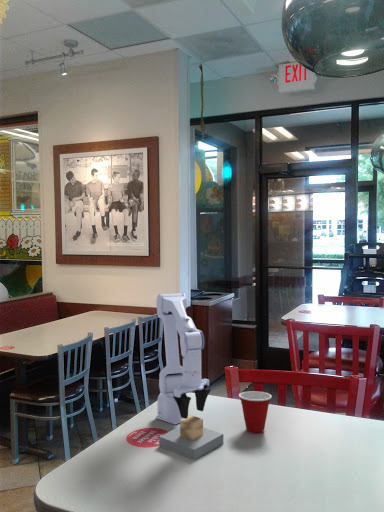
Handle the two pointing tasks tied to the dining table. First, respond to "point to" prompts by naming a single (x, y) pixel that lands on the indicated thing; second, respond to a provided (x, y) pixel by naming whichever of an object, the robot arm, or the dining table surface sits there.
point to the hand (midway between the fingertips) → (192, 413)
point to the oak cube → (191, 427)
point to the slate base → (191, 443)
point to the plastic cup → (255, 410)
